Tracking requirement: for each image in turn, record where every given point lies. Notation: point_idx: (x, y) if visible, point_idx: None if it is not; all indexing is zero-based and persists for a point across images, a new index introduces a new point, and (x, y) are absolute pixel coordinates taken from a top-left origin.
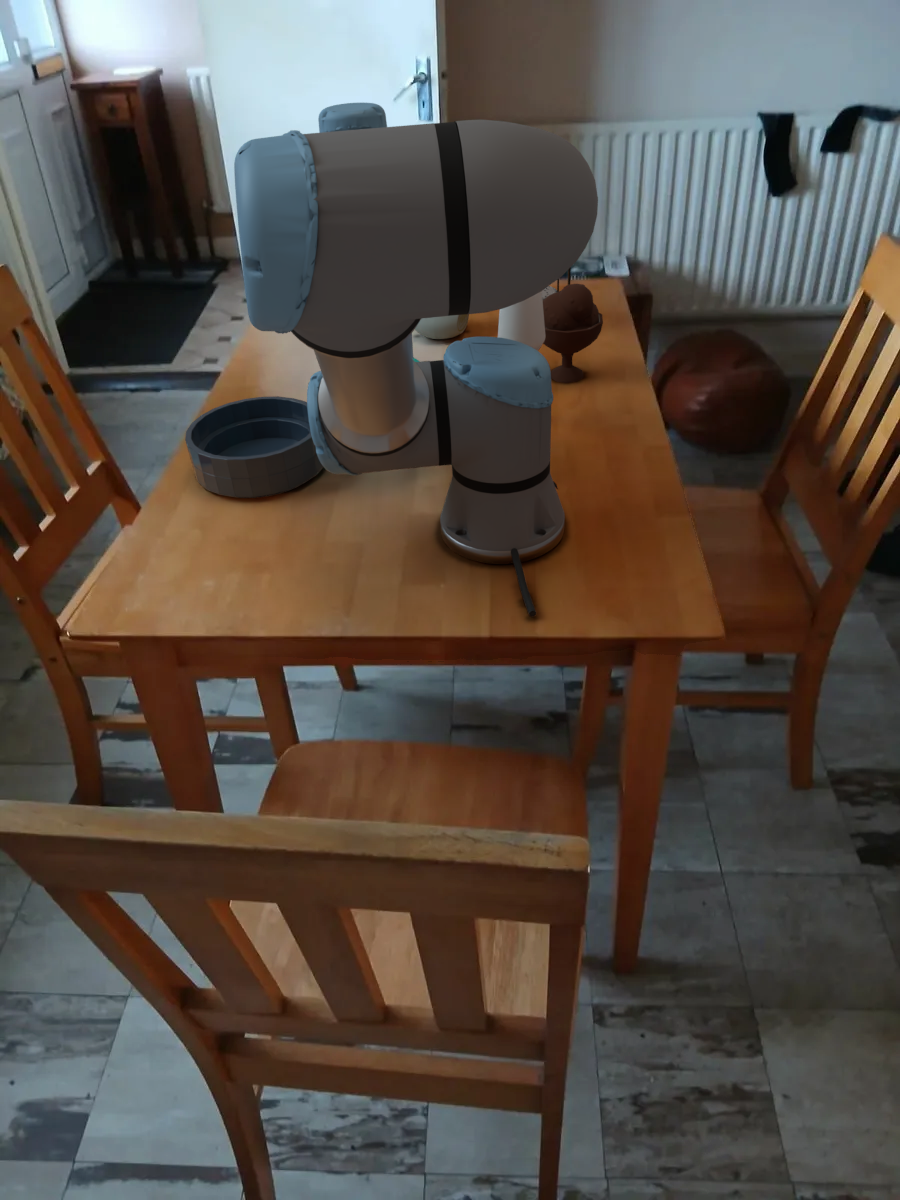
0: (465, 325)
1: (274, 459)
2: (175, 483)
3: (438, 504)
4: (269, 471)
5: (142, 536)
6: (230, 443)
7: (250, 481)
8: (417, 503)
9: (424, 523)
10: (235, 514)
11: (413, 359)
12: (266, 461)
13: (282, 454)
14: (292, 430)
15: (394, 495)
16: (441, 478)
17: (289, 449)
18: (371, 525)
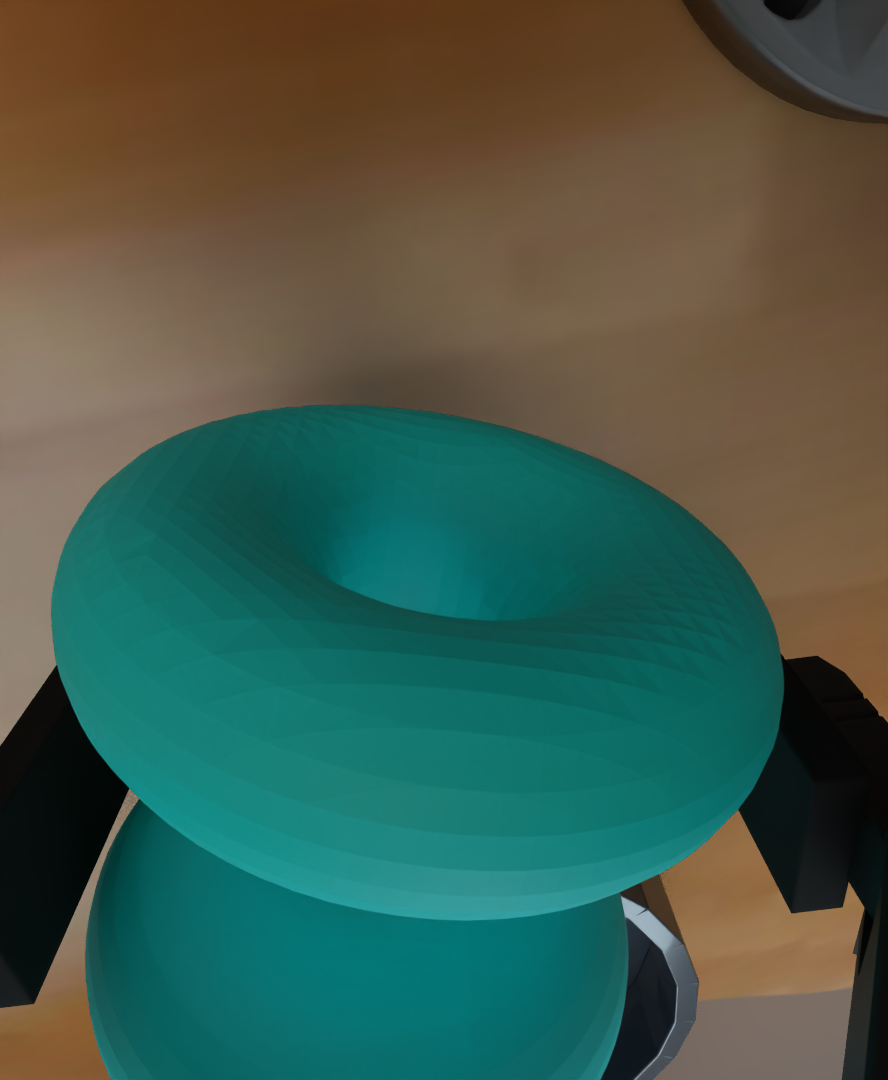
0: None
1: (658, 905)
2: None
3: (679, 191)
4: (658, 879)
5: (792, 975)
6: None
7: (667, 896)
8: (666, 300)
9: (839, 224)
10: (706, 848)
11: (302, 773)
12: (675, 921)
13: (646, 899)
14: None
15: (597, 420)
16: (434, 232)
17: (623, 895)
18: (822, 450)
